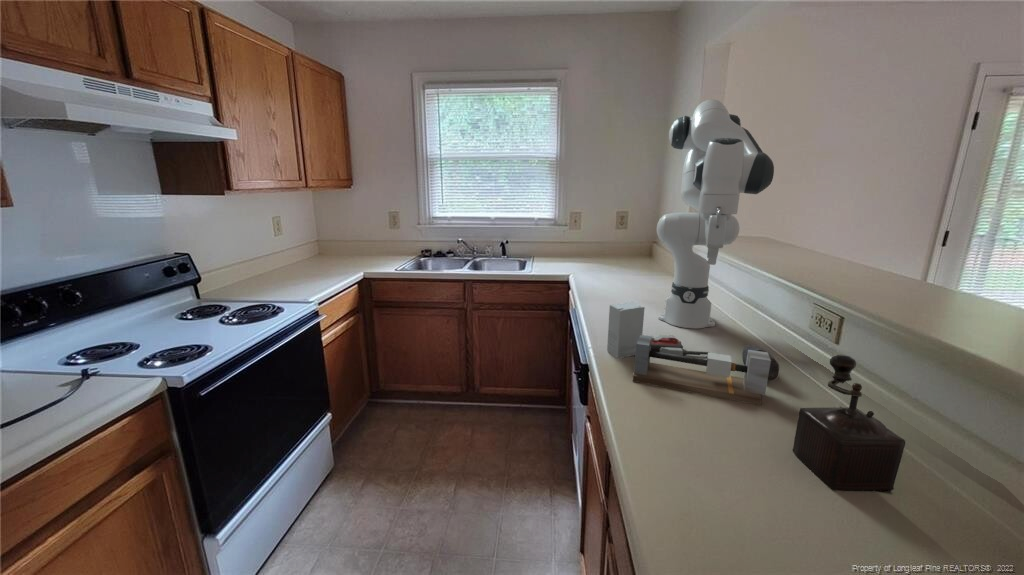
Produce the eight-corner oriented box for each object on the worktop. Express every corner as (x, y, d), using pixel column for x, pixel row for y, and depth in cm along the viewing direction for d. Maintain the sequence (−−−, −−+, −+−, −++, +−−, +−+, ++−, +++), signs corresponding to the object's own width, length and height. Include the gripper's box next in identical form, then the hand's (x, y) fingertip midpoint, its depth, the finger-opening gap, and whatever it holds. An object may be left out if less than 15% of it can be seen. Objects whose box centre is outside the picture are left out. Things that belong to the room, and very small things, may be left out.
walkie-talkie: (639, 355, 120) (711, 359, 118) (640, 341, 119) (713, 345, 117) (634, 344, 129) (701, 347, 126) (635, 331, 128) (702, 334, 125)
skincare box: (629, 347, 125) (633, 300, 121) (641, 355, 119) (646, 306, 116) (605, 351, 122) (608, 303, 118) (617, 359, 117) (620, 309, 113)
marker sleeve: (705, 367, 103) (707, 352, 102) (728, 370, 101) (730, 355, 100) (706, 373, 99) (708, 358, 98) (729, 377, 97) (731, 362, 96)
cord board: (637, 365, 113) (640, 331, 110) (759, 386, 101) (766, 348, 99) (632, 381, 104) (635, 343, 101) (765, 406, 92) (772, 364, 90)
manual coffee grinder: (899, 492, 67) (928, 391, 62) (831, 491, 67) (854, 391, 62) (828, 435, 82) (847, 351, 77) (773, 435, 82) (788, 350, 77)
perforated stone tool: (734, 359, 117) (738, 337, 115) (754, 361, 116) (758, 338, 114) (755, 384, 103) (760, 358, 101) (778, 386, 102) (783, 360, 100)
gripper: (735, 208, 92) (727, 269, 95) (729, 205, 110) (722, 256, 114) (704, 208, 94) (697, 267, 98) (703, 204, 113) (697, 254, 116)
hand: (711, 261), depth 106 cm, fingers open, 8 cm apart
